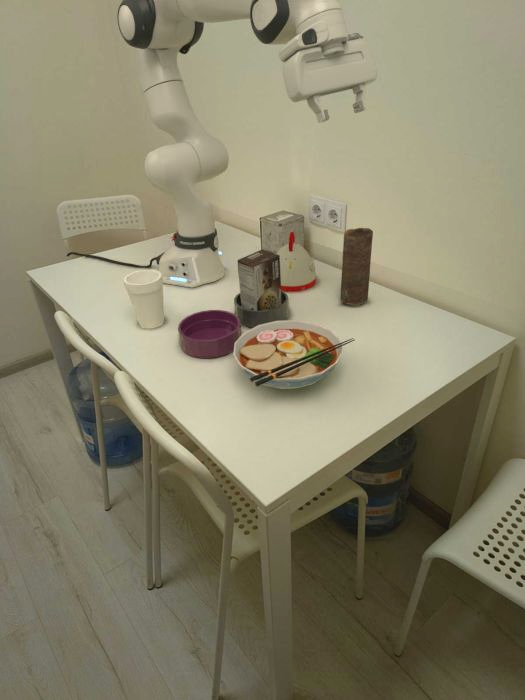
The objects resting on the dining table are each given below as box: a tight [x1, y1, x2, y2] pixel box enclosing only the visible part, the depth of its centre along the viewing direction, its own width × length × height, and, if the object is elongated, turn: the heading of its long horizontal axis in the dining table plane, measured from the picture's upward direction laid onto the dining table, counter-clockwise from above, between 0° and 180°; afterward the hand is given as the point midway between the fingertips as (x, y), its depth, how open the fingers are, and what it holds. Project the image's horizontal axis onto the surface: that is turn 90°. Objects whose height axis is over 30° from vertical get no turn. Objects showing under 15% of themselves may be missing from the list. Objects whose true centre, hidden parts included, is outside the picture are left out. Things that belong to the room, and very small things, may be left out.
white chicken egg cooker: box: [276, 231, 317, 293], centre depth 139 cm, size 14×14×15 cm
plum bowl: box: [177, 309, 243, 359], centre depth 115 cm, size 15×15×5 cm
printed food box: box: [237, 248, 282, 311], centre depth 122 cm, size 9×6×16 cm
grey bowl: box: [233, 290, 290, 329], centre depth 125 cm, size 14×14×5 cm
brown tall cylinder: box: [339, 227, 374, 306], centre depth 125 cm, size 8×7×20 cm
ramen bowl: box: [232, 319, 356, 390], centre depth 101 cm, size 25×23×8 cm
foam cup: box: [122, 269, 165, 330], centre depth 123 cm, size 10×9×13 cm
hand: (342, 116), depth 93 cm, fingers open, 8 cm apart
